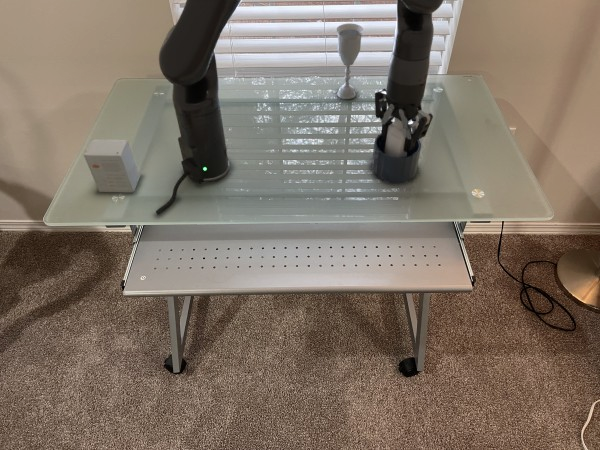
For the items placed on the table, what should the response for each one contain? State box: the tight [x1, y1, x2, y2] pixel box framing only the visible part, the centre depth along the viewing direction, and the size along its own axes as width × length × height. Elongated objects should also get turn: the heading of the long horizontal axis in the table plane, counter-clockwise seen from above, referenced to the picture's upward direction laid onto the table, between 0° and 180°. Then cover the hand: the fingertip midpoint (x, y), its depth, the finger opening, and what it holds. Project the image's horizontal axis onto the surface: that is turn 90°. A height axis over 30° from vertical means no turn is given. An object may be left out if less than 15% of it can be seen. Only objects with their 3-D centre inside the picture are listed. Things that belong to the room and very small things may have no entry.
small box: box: [83, 139, 141, 193], centre depth 109 cm, size 8×6×10 cm
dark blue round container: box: [371, 133, 422, 184], centre depth 113 cm, size 10×10×7 cm
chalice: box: [335, 23, 364, 100], centre depth 131 cm, size 7×7×18 cm
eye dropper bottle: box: [384, 118, 407, 157], centre depth 109 cm, size 4×6×12 cm
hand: (397, 143), depth 110 cm, fingers closed on eye dropper bottle, 5 cm apart
